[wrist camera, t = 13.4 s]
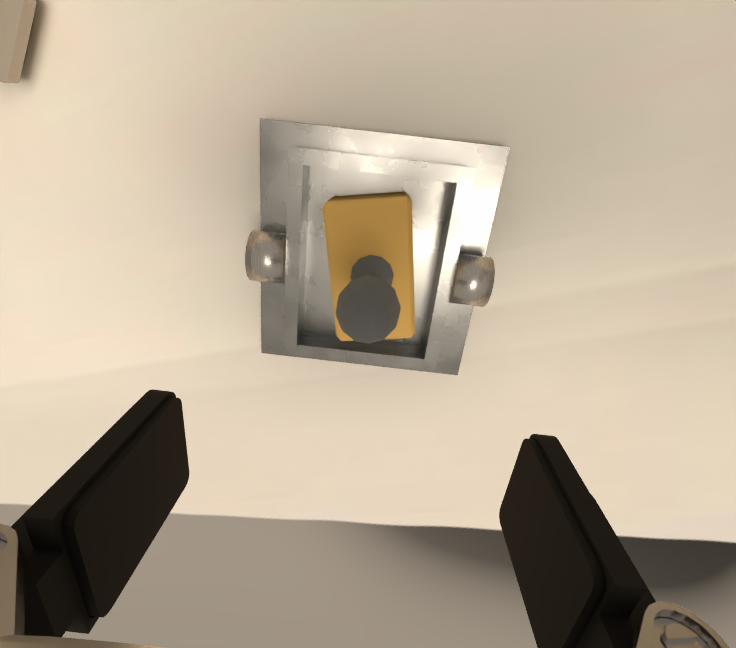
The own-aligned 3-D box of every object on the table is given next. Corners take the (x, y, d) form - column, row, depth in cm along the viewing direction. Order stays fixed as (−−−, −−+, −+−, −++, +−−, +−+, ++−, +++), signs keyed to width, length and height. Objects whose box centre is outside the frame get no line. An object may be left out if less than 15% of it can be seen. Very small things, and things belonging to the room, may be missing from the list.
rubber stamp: (412, 319, 32) (426, 407, 21) (341, 322, 32) (318, 410, 21) (408, 191, 28) (423, 215, 17) (328, 196, 28) (291, 223, 17)
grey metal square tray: (504, 147, 27) (527, 146, 23) (455, 368, 35) (464, 399, 30) (265, 119, 27) (241, 113, 23) (265, 346, 35) (247, 374, 30)
